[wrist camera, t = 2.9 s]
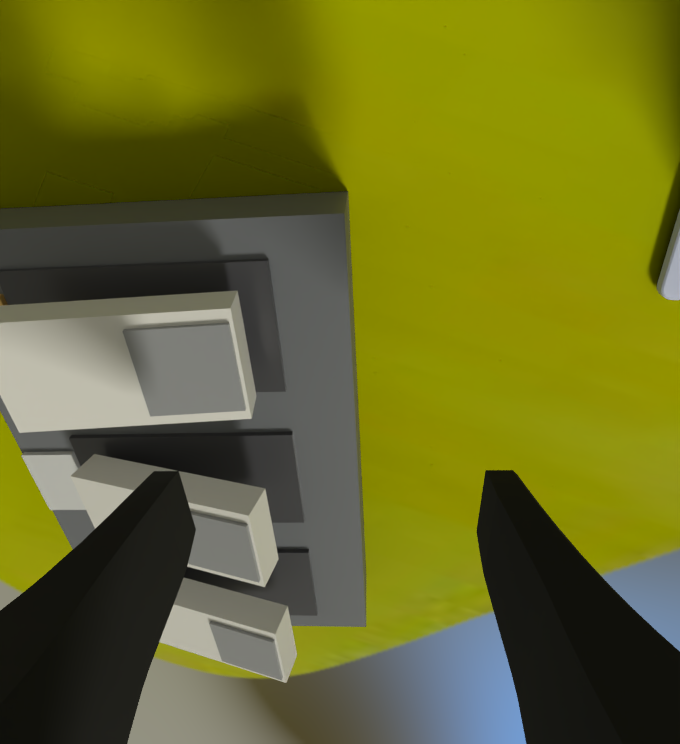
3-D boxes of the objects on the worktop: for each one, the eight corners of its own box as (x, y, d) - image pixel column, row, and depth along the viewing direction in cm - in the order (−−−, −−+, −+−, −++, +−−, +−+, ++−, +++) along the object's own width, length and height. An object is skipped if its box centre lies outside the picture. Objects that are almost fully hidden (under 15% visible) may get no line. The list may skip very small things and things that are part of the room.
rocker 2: (287, 606, 20) (273, 637, 19) (296, 654, 22) (285, 685, 20) (141, 566, 22) (121, 592, 21) (161, 614, 24) (144, 640, 22)
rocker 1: (237, 290, 14) (229, 310, 13) (256, 396, 16) (250, 421, 15) (-10, 306, 14) (-40, 327, 13) (39, 409, 16) (16, 435, 15)
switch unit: (347, 191, 16) (344, 215, 13) (366, 576, 27) (365, 630, 24) (-28, 210, 17) (-98, 235, 14) (133, 575, 27) (109, 627, 25)
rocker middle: (265, 488, 16) (246, 518, 15) (278, 559, 18) (263, 590, 17) (94, 454, 18) (67, 478, 17) (122, 520, 20) (99, 546, 19)
